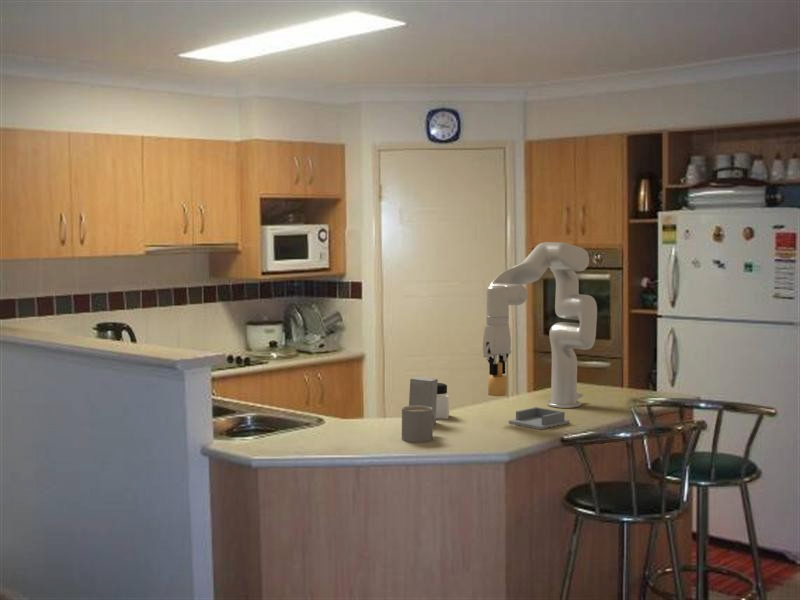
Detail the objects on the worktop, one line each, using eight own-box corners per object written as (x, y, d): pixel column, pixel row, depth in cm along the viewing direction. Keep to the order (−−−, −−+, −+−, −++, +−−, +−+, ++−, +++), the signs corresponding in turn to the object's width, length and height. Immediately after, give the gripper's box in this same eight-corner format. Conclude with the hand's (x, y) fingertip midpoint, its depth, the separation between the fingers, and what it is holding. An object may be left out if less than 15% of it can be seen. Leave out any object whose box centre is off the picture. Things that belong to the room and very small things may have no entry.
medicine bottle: (448, 415, 362) (449, 382, 361) (447, 419, 354) (448, 385, 353) (429, 414, 362) (429, 381, 361) (427, 418, 355) (427, 385, 354)
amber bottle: (496, 392, 351) (496, 361, 350) (510, 394, 346) (510, 363, 345) (484, 394, 346) (484, 363, 345) (498, 397, 342) (498, 365, 341)
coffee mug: (415, 443, 316) (415, 412, 315) (395, 438, 324) (395, 407, 323) (446, 438, 324) (447, 407, 323) (427, 432, 332) (427, 403, 331)
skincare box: (407, 424, 345) (407, 378, 344) (415, 420, 352) (415, 375, 351) (430, 426, 342) (430, 380, 341) (437, 422, 349) (438, 377, 348)
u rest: (537, 417, 358) (537, 406, 358) (569, 423, 348) (569, 411, 347) (508, 423, 347) (508, 412, 346) (540, 429, 337) (540, 418, 336)
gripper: (504, 318, 352) (504, 370, 354) (473, 322, 341) (473, 376, 343) (521, 320, 347) (521, 372, 349) (490, 324, 335) (489, 378, 337)
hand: (497, 373), depth 346 cm, fingers closed on amber bottle, 3 cm apart
